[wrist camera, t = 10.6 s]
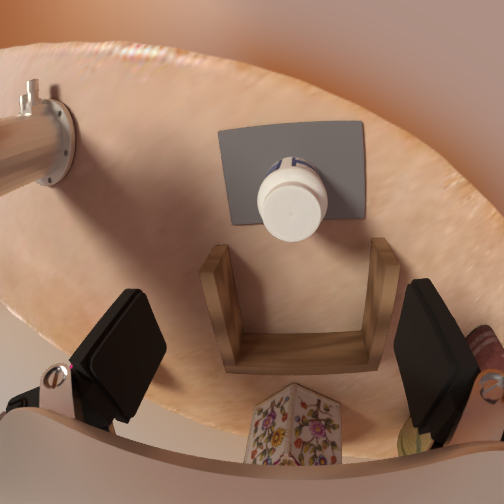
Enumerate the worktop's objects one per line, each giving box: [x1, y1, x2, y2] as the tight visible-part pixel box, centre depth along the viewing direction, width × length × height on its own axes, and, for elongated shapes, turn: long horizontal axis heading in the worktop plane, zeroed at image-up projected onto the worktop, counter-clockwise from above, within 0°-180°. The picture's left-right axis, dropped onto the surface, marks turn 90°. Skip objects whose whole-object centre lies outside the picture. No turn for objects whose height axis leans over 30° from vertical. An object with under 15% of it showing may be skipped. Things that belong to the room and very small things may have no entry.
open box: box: [199, 238, 401, 375], centre depth 30 cm, size 15×19×6 cm
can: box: [466, 325, 504, 373], centre depth 26 cm, size 6×6×14 cm
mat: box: [218, 121, 365, 225], centre depth 26 cm, size 10×14×1 cm
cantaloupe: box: [397, 417, 432, 457], centre depth 36 cm, size 15×15×15 cm
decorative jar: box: [243, 383, 342, 466], centre depth 36 cm, size 12×12×18 cm
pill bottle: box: [257, 157, 328, 242], centre depth 22 cm, size 5×5×10 cm
